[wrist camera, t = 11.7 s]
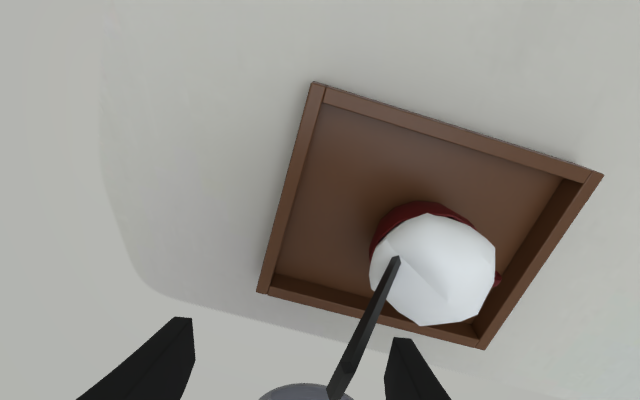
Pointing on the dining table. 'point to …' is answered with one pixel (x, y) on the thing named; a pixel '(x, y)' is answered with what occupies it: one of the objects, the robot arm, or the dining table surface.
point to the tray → (404, 187)
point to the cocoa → (421, 275)
